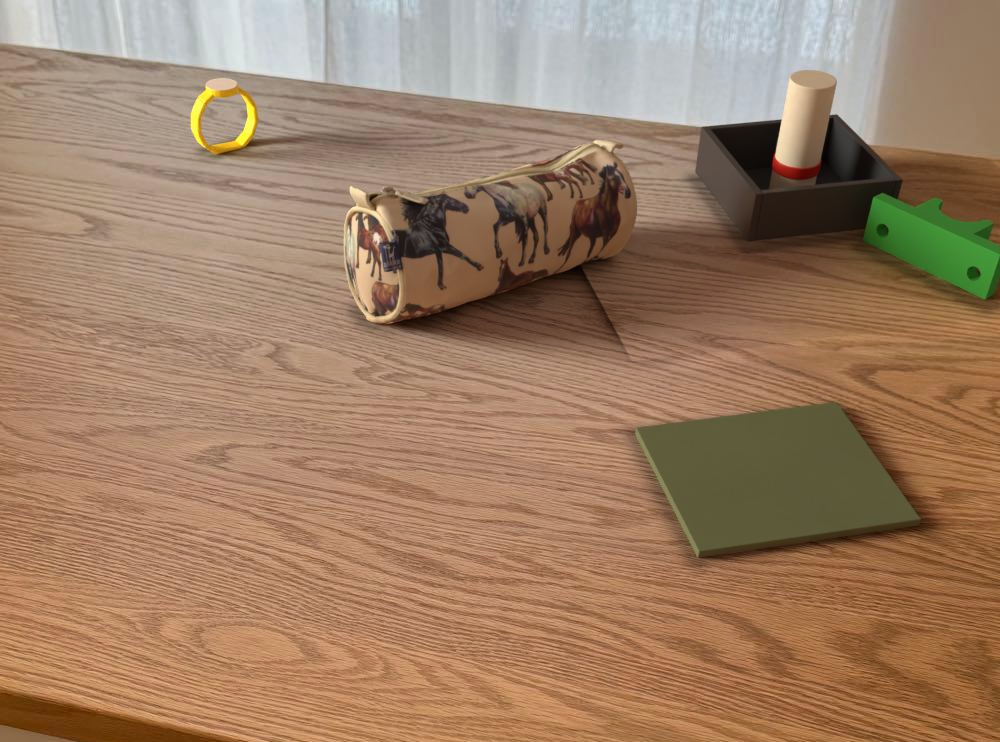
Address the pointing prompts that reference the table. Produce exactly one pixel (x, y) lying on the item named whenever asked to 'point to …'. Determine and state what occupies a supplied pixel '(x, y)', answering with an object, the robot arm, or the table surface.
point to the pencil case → (485, 232)
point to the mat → (773, 479)
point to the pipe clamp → (936, 242)
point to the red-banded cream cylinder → (803, 129)
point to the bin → (795, 210)
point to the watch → (223, 90)
